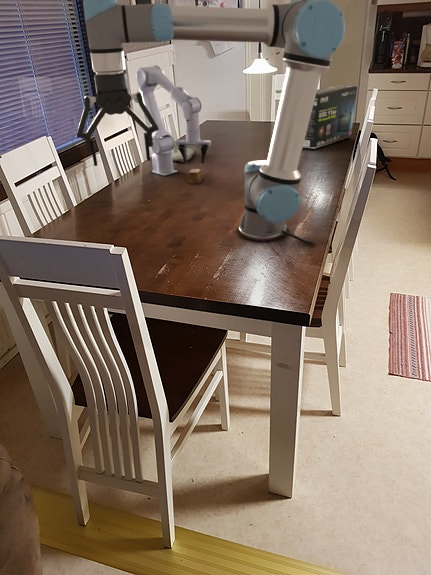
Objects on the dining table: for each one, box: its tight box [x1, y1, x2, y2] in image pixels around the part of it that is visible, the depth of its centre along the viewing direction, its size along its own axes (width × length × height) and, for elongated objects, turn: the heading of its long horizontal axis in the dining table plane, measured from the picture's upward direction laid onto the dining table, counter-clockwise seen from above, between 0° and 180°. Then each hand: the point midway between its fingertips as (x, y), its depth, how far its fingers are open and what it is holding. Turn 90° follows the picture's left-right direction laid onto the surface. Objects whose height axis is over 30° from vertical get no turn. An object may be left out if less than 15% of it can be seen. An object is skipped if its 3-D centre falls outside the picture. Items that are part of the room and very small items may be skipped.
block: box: [187, 168, 203, 185], centre depth 196 cm, size 4×5×5 cm
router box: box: [303, 84, 358, 151], centre depth 238 cm, size 36×11×27 cm, turn 134°
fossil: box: [172, 144, 199, 163], centre depth 229 cm, size 18×11×15 cm
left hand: (194, 162), depth 196 cm, fingers open, 7 cm apart
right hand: (122, 162), depth 119 cm, fingers open, 13 cm apart
